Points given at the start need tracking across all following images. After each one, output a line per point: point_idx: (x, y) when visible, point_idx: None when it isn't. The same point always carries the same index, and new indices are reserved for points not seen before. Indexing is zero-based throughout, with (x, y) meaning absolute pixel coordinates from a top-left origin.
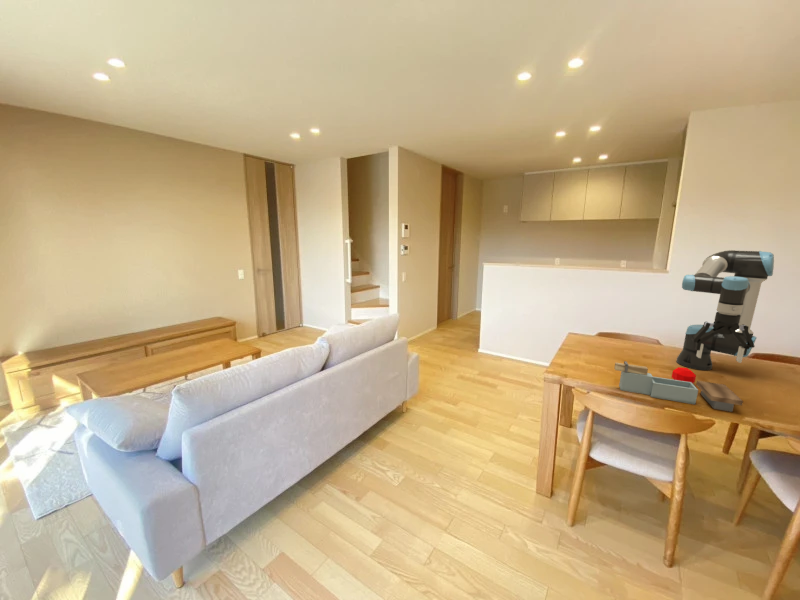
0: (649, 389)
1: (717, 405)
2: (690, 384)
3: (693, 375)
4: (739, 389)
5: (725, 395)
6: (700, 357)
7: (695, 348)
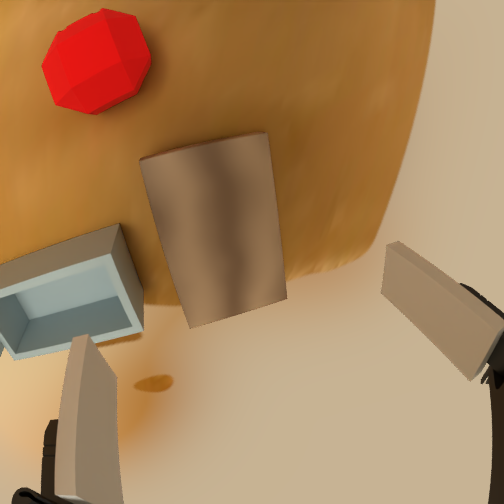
0: None
1: None
2: (110, 273)
3: (131, 81)
4: (325, 15)
5: (239, 287)
6: (113, 384)
7: (49, 428)
